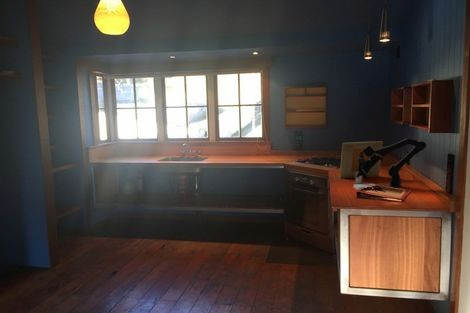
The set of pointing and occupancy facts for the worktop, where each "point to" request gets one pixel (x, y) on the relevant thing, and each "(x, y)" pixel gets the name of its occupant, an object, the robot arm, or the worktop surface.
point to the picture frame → (351, 157)
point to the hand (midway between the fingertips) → (356, 175)
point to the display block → (362, 186)
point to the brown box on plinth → (358, 179)
